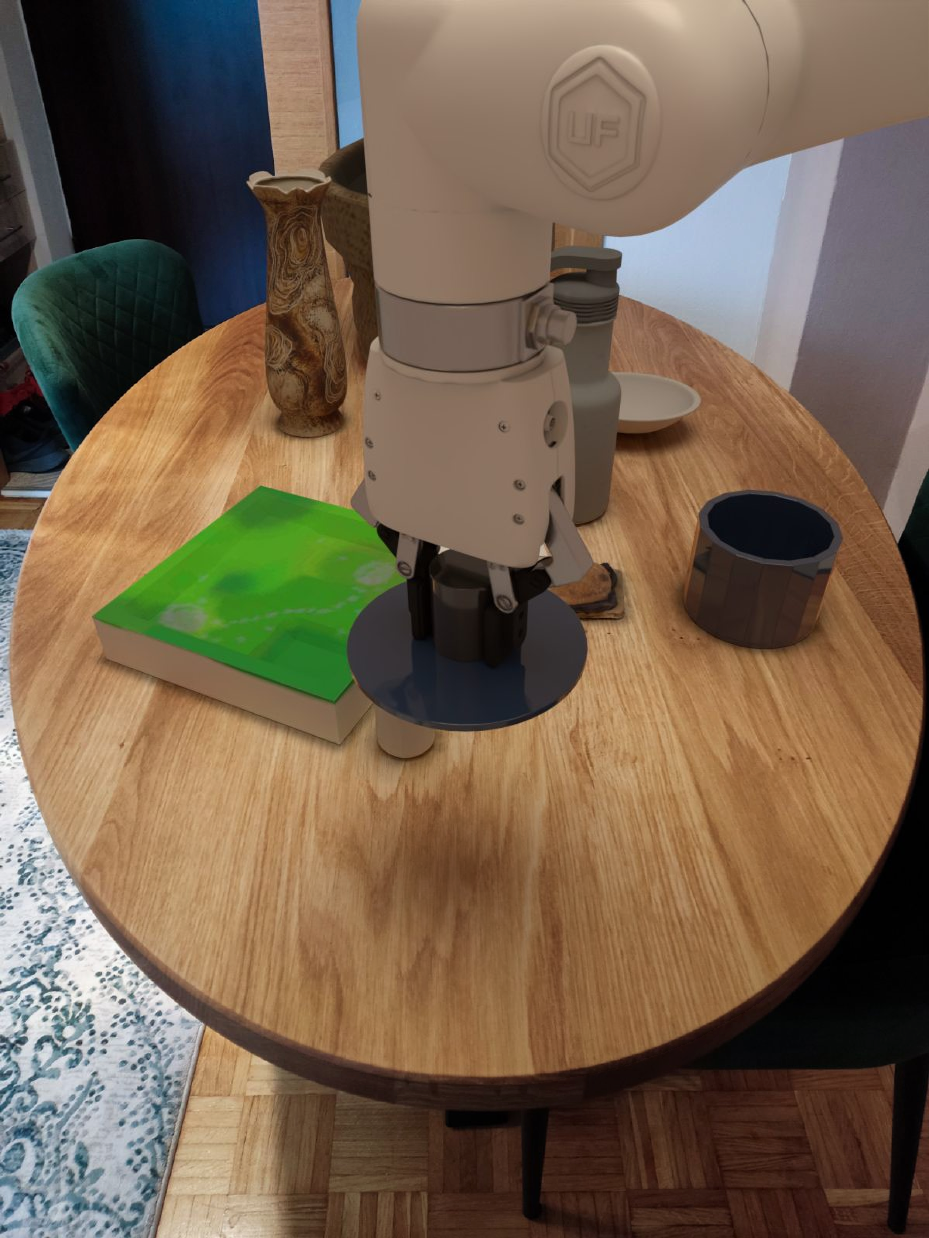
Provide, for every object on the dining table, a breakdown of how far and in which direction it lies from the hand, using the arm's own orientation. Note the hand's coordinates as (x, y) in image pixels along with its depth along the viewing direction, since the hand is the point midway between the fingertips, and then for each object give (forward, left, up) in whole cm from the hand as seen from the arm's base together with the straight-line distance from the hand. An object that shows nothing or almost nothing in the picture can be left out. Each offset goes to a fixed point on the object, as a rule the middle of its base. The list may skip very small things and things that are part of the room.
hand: (466, 635), depth 50 cm
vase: (+53, -50, -21) cm, 76 cm away
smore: (+7, -33, -21) cm, 40 cm away
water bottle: (+15, -48, -21) cm, 54 cm away
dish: (+16, -69, -21) cm, 74 cm away
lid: (0, 0, -1) cm, 1 cm away
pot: (+51, -80, -21) cm, 97 cm away
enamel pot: (-9, -40, -21) cm, 46 cm away
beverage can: (+10, -8, -21) cm, 25 cm away
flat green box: (+28, -16, -21) cm, 39 cm away
